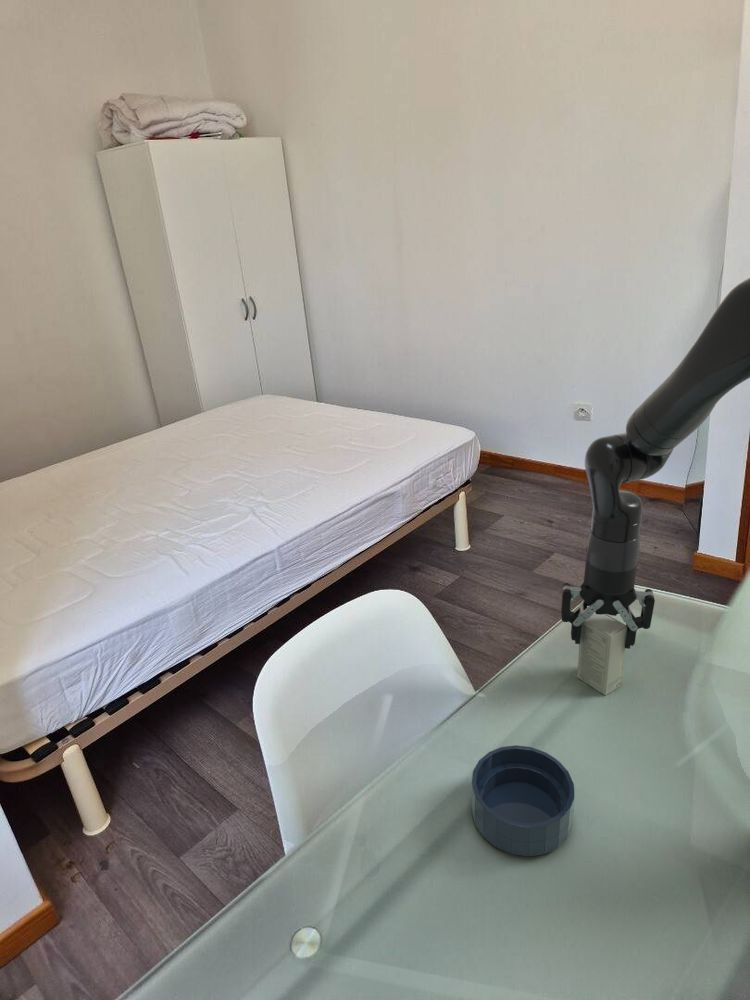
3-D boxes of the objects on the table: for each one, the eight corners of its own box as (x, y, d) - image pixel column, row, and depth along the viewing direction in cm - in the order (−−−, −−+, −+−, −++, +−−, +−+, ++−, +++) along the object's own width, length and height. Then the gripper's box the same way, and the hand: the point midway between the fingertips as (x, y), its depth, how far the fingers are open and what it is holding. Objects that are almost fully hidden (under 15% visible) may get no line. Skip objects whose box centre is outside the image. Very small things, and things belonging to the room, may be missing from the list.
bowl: (569, 782, 98) (572, 751, 95) (572, 866, 86) (576, 834, 84) (476, 770, 100) (476, 740, 98) (467, 850, 89) (467, 818, 86)
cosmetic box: (622, 685, 115) (630, 626, 109) (604, 697, 113) (611, 637, 107) (591, 666, 119) (598, 608, 114) (574, 676, 117) (579, 618, 112)
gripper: (564, 566, 104) (557, 653, 111) (665, 573, 100) (651, 662, 108) (562, 542, 110) (556, 625, 117) (657, 547, 107) (645, 633, 114)
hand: (601, 643), depth 113 cm, fingers closed on cosmetic box, 7 cm apart
